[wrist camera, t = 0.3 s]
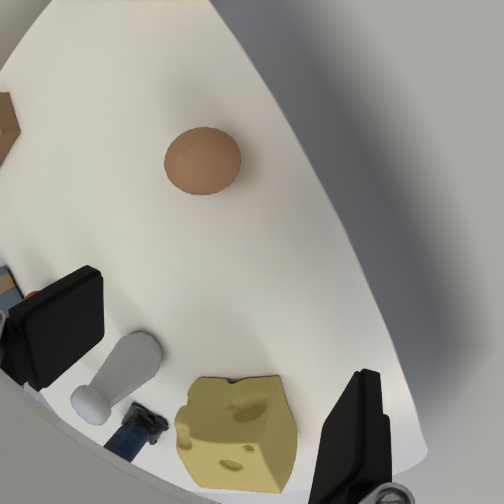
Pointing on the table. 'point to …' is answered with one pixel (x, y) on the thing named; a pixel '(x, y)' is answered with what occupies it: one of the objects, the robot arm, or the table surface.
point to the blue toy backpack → (8, 292)
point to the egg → (202, 161)
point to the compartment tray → (7, 125)
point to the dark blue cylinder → (135, 433)
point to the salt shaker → (118, 377)
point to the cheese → (237, 434)
